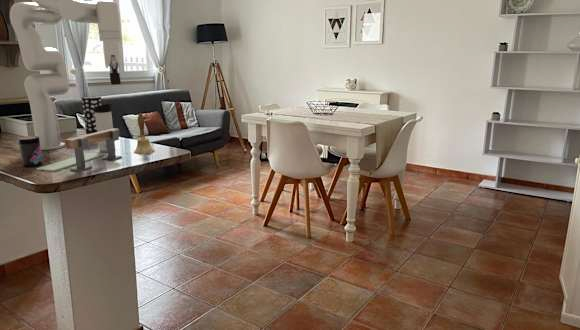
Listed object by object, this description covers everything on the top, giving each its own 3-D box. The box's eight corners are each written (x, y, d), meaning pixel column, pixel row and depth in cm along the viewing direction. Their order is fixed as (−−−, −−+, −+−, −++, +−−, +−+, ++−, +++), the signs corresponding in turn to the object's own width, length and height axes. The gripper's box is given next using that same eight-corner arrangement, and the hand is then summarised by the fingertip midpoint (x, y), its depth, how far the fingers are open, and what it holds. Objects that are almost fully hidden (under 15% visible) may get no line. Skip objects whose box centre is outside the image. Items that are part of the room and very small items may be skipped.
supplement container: (27, 168, 157) (22, 140, 155) (19, 166, 161) (14, 138, 159) (46, 164, 162) (42, 137, 160) (38, 162, 166) (34, 135, 164)
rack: (69, 170, 154) (64, 138, 151) (110, 157, 173) (106, 128, 170) (83, 171, 152) (78, 139, 149) (122, 158, 171) (119, 129, 169)
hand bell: (134, 154, 177) (130, 115, 173) (133, 150, 185) (129, 113, 181) (155, 152, 181) (152, 114, 177) (153, 148, 188) (150, 111, 184)
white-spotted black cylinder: (93, 137, 214) (88, 96, 209) (109, 137, 213) (104, 96, 208) (83, 141, 207) (77, 98, 202) (99, 141, 205) (94, 98, 200)
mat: (36, 170, 155) (36, 168, 155) (89, 154, 179) (89, 152, 179) (54, 171, 153) (54, 170, 153) (106, 155, 177) (105, 153, 177)
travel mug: (110, 153, 180) (105, 104, 175) (96, 152, 181) (90, 104, 176) (119, 150, 186) (114, 102, 181) (105, 149, 187) (99, 102, 182)
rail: (66, 148, 150) (64, 139, 149) (113, 135, 172) (112, 128, 171) (73, 148, 149) (72, 140, 148) (119, 136, 171) (119, 128, 170)
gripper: (99, 37, 168) (104, 83, 172) (99, 35, 153) (105, 85, 157) (120, 37, 171) (124, 82, 175) (122, 35, 155) (127, 84, 160)
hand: (115, 83), depth 166 cm, fingers open, 9 cm apart
